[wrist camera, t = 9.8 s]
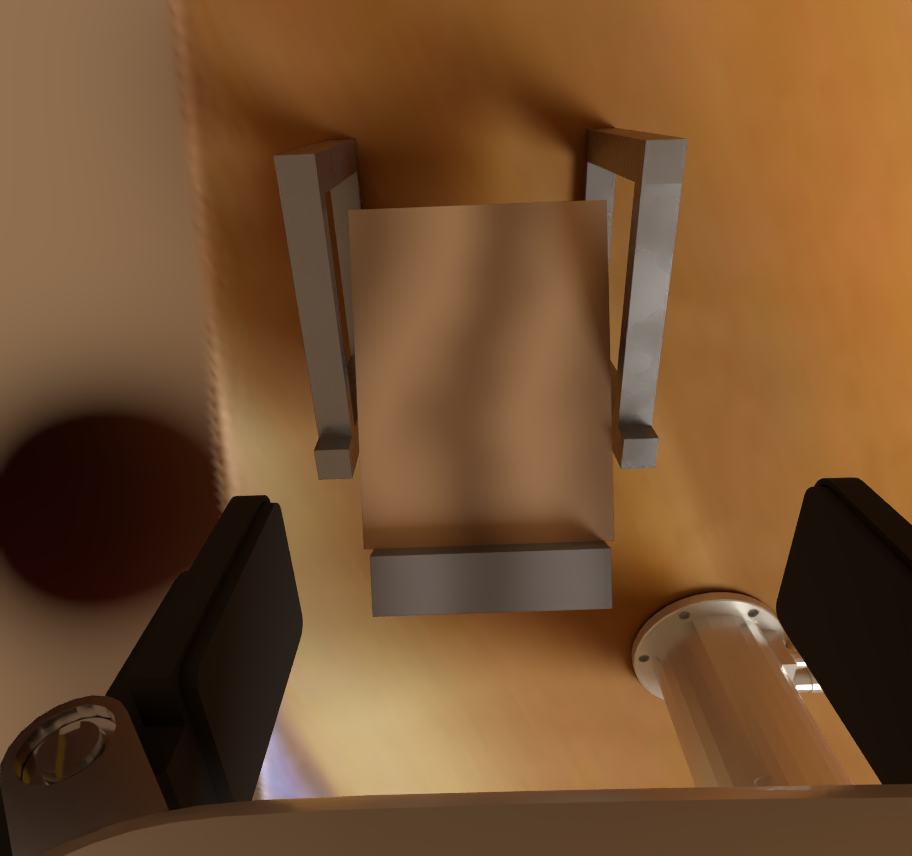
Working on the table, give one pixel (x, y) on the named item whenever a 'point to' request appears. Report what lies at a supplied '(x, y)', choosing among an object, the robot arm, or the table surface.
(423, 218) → the trapdoor
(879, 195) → the table surface
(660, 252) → the frame
